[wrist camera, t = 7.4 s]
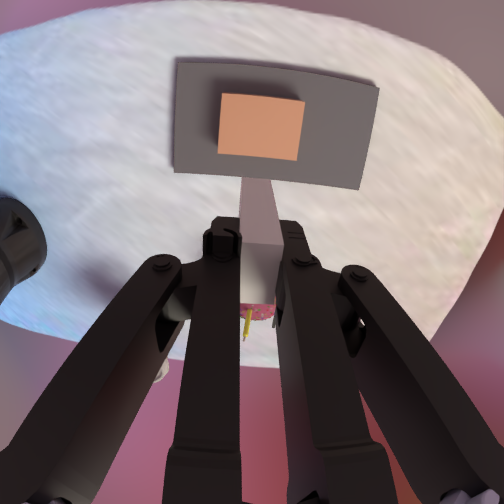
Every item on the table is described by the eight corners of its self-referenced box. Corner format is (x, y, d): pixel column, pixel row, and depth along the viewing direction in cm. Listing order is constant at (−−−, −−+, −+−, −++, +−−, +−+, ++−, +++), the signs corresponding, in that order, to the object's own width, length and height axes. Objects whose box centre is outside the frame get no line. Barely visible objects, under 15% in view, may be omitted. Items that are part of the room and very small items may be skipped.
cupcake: (247, 305, 51) (247, 363, 41) (216, 270, 47) (209, 328, 37) (293, 282, 49) (303, 340, 38) (264, 243, 45) (269, 300, 35)
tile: (293, 155, 37) (219, 148, 36) (301, 99, 33) (223, 91, 32) (296, 160, 34) (217, 153, 34) (305, 101, 31) (222, 93, 30)
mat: (175, 170, 38) (173, 172, 38) (179, 62, 31) (177, 62, 30) (356, 187, 40) (358, 190, 39) (376, 87, 32) (379, 87, 31)
